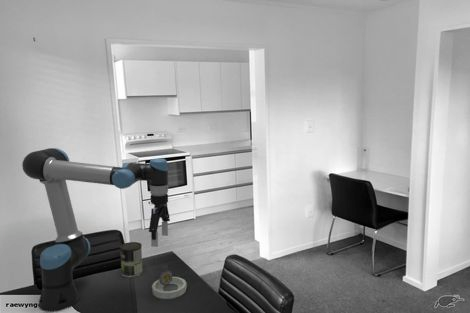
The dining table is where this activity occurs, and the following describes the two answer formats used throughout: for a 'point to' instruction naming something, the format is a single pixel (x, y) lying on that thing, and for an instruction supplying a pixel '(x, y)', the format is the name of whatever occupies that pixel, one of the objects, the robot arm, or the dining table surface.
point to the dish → (162, 294)
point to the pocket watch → (167, 280)
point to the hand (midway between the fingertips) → (160, 240)
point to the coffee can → (131, 259)
